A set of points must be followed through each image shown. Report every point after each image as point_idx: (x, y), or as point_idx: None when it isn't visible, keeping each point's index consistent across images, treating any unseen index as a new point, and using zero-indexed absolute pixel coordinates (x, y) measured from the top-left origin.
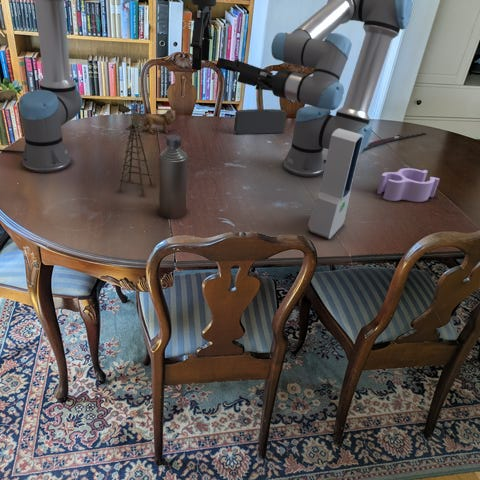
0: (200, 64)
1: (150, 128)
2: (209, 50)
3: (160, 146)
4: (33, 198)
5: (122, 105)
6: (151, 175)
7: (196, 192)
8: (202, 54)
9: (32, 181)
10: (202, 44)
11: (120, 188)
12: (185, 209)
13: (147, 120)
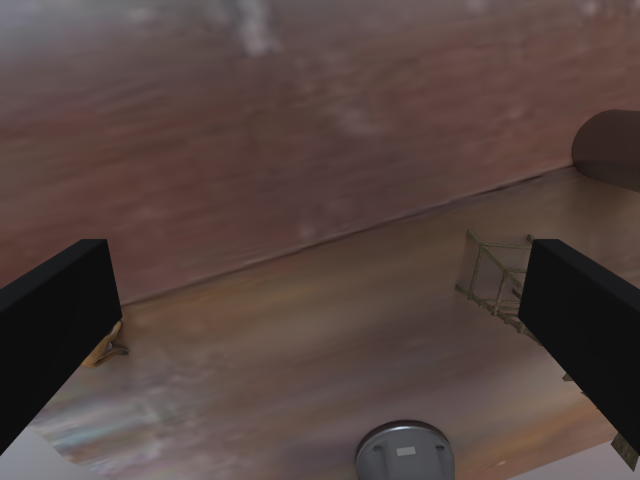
0: (595, 266)
1: (113, 334)
2: (4, 290)
3: (205, 276)
4: (560, 420)
5: (636, 460)
6: (482, 242)
7: (486, 106)
8: (85, 336)
9: (489, 447)
10: (4, 430)
11: (518, 292)
12: (627, 110)
13: (100, 357)
